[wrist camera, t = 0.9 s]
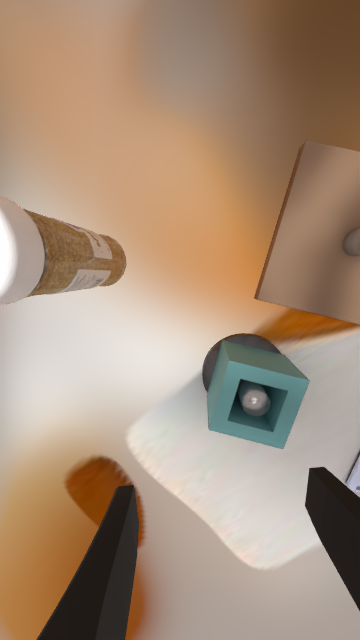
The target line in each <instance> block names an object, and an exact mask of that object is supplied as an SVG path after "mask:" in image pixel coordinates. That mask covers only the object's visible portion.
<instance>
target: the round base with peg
mask: <svg viewBox="0 0 360 640" xmlns="http://www.w3.org/2000/svg"><path fill="white" fill-rule="evenodd" d="M222 340H225V341H229V342H233V343H237V344H241V345H245V346H249V347H253V348H257V349H261V350H265V351H269V352H273V353H277V354H281V353H280V352H279V350H278V349H277V348H276V347H275V346H274V345H273V344H272V343H270V342H269V341H268V340H266V339H265V338H262V337H260V336H257V335H254V334H244V333H242V334H235V335H231V336H228V337H226V338H224V339H222ZM222 340H220V341H219V342H217V343H216V344H215V345H214V346H213V347H212V348H211V350H210V351H209V352H208V354H207V356H206V358H205V360H204V364H203V383H204V386H205V389H206V391H207V393H208V389H209V386H210V382H211V379H212V375H213V372H214V368H215V365H216V361H217V358H218V354H219V351H220V347H221V344H222ZM281 355H282V354H281ZM236 392H238V394H239V398H240V401H241V404H242V407H243V409H244V411H245V412H246V413H247V414H249V415H251V416H261V415H263V414H265V413H266V412H267V411H268V410H269V408H270V399H269V397H268V395H267V394H266V392H265V390H264V388H263V386H262V384H259V383H255V382H251V381H247V380H243V379H240V382H239V385H238V388H237V391H236Z"/></svg>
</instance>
